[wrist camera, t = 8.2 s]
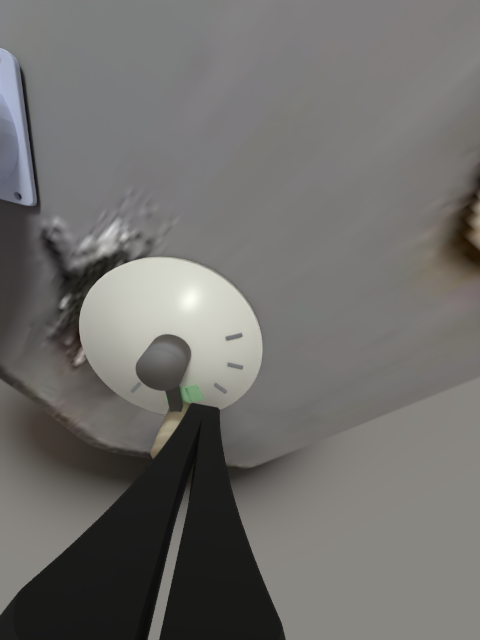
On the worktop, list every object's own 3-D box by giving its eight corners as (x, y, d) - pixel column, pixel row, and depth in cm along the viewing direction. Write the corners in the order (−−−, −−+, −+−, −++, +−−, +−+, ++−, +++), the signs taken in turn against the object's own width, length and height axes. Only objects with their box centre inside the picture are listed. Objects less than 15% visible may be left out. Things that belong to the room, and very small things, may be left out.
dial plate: (90, 391, 23) (82, 400, 22) (81, 232, 17) (69, 234, 16) (238, 421, 24) (238, 431, 23) (285, 284, 18) (288, 288, 17)
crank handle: (146, 334, 19) (114, 371, 14) (188, 333, 19) (169, 370, 14) (166, 416, 23) (146, 464, 18) (201, 416, 23) (189, 464, 18)
